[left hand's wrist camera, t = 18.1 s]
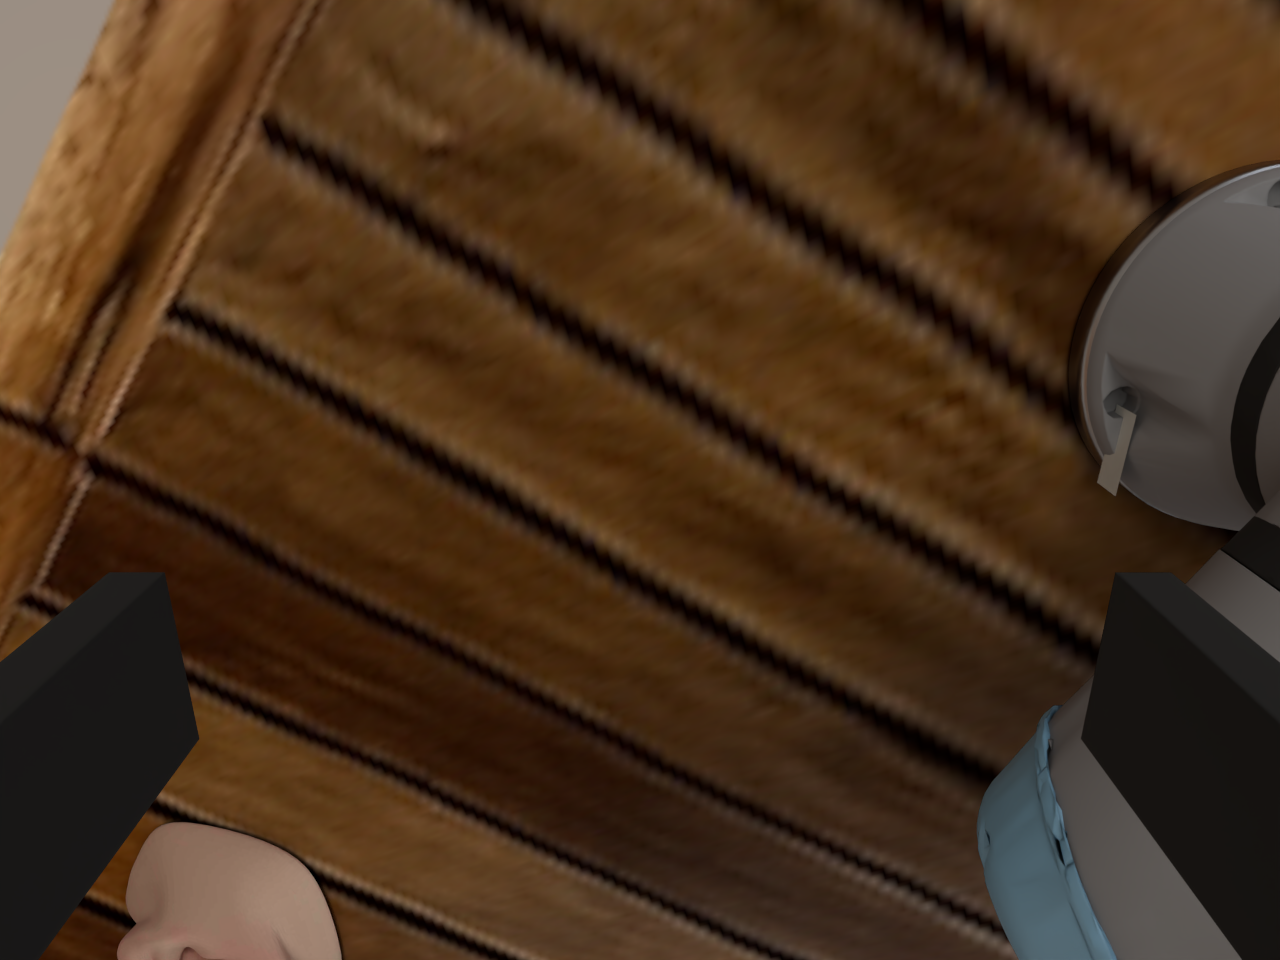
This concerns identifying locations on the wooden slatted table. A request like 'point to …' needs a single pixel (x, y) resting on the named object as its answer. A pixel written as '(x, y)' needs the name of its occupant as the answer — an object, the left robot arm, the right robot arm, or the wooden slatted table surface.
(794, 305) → the wooden slatted table surface
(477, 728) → the wooden slatted table surface
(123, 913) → the wooden slatted table surface
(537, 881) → the wooden slatted table surface
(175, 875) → the anatomical model
